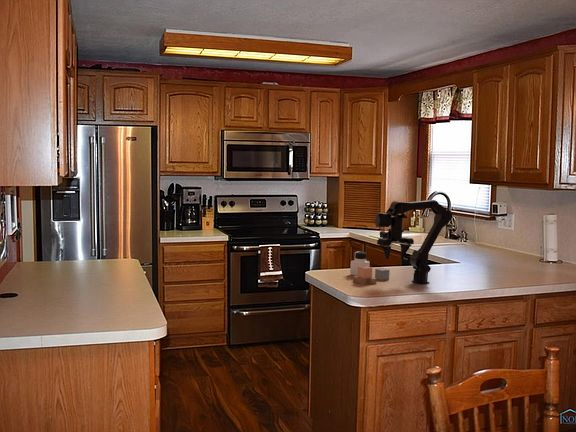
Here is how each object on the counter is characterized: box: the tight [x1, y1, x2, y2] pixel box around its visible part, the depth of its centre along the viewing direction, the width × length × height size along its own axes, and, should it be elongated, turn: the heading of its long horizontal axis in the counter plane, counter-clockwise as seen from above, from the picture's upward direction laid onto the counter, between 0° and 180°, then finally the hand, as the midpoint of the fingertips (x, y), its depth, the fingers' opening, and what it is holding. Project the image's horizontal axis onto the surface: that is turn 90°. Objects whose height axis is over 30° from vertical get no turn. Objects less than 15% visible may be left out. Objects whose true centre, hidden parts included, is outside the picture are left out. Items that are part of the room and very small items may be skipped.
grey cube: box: [374, 267, 390, 281], centre depth 306 cm, size 5×5×5 cm
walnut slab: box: [352, 275, 378, 286], centre depth 296 cm, size 8×8×3 cm
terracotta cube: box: [357, 266, 373, 279], centre depth 295 cm, size 5×5×5 cm
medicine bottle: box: [349, 251, 371, 276], centre depth 314 cm, size 7×7×12 cm
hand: (394, 259), depth 296 cm, fingers open, 9 cm apart
